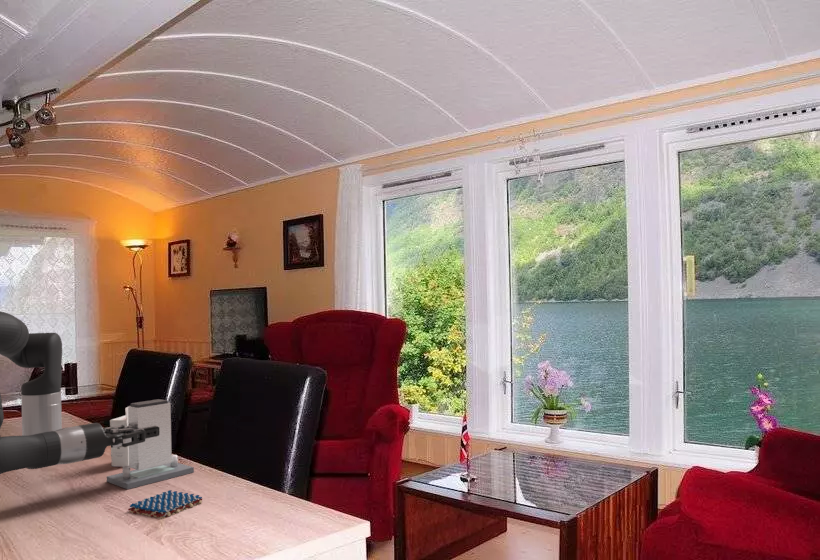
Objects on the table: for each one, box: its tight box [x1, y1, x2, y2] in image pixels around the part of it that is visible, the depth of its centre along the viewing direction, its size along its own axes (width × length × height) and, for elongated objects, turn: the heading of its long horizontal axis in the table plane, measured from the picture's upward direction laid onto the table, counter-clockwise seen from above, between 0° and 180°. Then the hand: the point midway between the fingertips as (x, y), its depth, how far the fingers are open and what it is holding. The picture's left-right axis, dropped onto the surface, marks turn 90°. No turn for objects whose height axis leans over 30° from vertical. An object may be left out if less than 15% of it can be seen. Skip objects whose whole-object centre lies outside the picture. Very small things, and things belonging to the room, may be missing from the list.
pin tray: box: [106, 454, 195, 490], centre depth 150 cm, size 16×10×4 cm, turn 140°
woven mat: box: [127, 489, 203, 520], centre depth 128 cm, size 10×11×2 cm
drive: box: [127, 398, 172, 470], centre depth 150 cm, size 4×8×15 cm, turn 140°
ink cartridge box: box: [109, 406, 129, 468], centre depth 164 cm, size 9×5×15 cm, turn 168°
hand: (152, 429), depth 150 cm, fingers closed on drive, 4 cm apart
